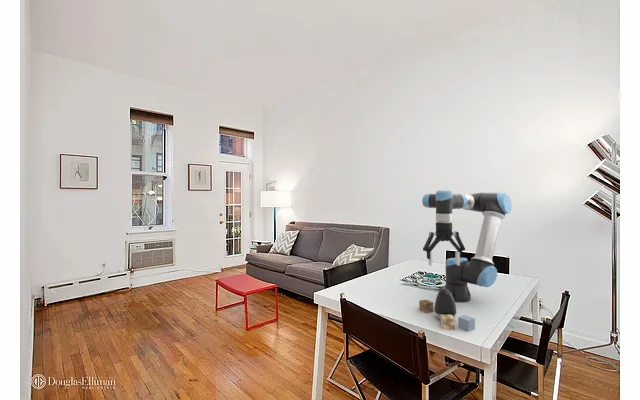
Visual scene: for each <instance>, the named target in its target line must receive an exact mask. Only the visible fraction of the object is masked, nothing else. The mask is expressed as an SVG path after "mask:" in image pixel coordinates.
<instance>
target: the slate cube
mask: <svg viewBox="0 0 640 400" xmlns="http://www.w3.org/2000/svg"><path fill="white" fill-rule="evenodd" d="M457 323H458V329H460V330H463V331H465V332H469V333H470V332H471V331H473V330H474V331H475V330H476V318H475V317H472V316H470V315H468V314H462V315H461V316H458V322H457Z"/></svg>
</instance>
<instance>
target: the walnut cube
mask: <svg viewBox="0 0 640 400" xmlns="http://www.w3.org/2000/svg"><path fill="white" fill-rule="evenodd" d="M418 305H419V309H418V310H420V311H421V312H422V311H423V313H425V314H428V313H433V312H434V302H433V301H431V300H429V299H420V300H419V302H418Z"/></svg>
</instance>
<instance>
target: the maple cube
mask: <svg viewBox="0 0 640 400" xmlns="http://www.w3.org/2000/svg"><path fill="white" fill-rule="evenodd" d="M440 326H441V328H442V329H443V331H445V330H447V331H450V330H454V331H455V330H456V319H455V317H453V316H452V315H441V320H440Z"/></svg>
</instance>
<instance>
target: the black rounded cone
mask: <svg viewBox="0 0 640 400" xmlns="http://www.w3.org/2000/svg"><path fill="white" fill-rule="evenodd" d="M439 289H440V290H439V291H438V292H437V294H436V298H435V301H434V305H433V312H434V313H435V316H436V318H437V319H438V320H440V321H441V315H452V316H453V317H454V318H456V315H457V306H456V305H457V304H456V301H454V298H453V295H452V293H451V292H450V290H448V289H446V288H444V287H442V286H440V287H439Z"/></svg>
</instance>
